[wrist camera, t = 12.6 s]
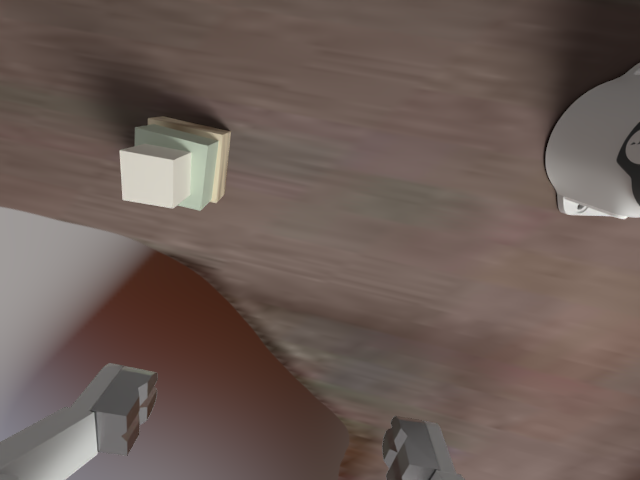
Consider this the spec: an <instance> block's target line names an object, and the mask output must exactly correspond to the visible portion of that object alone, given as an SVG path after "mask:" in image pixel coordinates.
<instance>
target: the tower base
mask: <svg viewBox="0 0 640 480" xmlns="http://www.w3.org/2000/svg"><path fill="white" fill-rule="evenodd" d="M151 124H156V125H159V126H163V127H167V128H171V129H175V130H179V131H183V132H187V133H190V134H194V135H198V136H202V137H206V138H210V139H214V140H217V141H219V144H218V152H217V160H216V168H215V176H214V184H213V191H212V199H211V201H210V202H214V203H217V202H218V201H219V200H220V198H221V197H222V196H223V195H224V193H225V183H226V174H227V164H228V154H229V145H230V135H231V132H230V131H226V130H222V129H217V128H213V127H208V126H204V125H200V124H195V123H191V122H186V121H182V120H177V119H173V118H169V117H164V116H161V117H153V118H148V125H151Z"/></svg>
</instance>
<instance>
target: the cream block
mask: <svg viewBox="0 0 640 480" xmlns="http://www.w3.org/2000/svg"><path fill="white" fill-rule="evenodd" d="M120 165H121V181H122V197H123V200H126V201H132V202H138V203H144V204H150V205H156V206H162V207H168V208H174V207H176V206H177V205H178V204H179V203H181V202H182V201H183V200H184V199H186V198H187V197H188V196H190V187H191V152H188V151H183V150H177V149H172V148H167V147H161V146H156V145H150V144H141V145H137V146H134V147H130V148H126V149H122V150H120Z"/></svg>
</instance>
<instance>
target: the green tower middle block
mask: <svg viewBox="0 0 640 480" xmlns="http://www.w3.org/2000/svg"><path fill="white" fill-rule="evenodd" d="M141 144H150V145H156V146H161V147H167V148H172V149H177V150H183V151H188V152H191V187H190V196H188V197H187V198H186V199H184V200H183V201H182V202H181V203H179V204H178V206H183V207H187V208H191V209H196V210H200V211H201V210H202V209H203V208H204V207H205V206H206V205H207V204H208V203H209V202H210V201H211V199H212V191H213V184H214V176H215V168H216V160H217V152H218V144H219V141H217V140H214V139H210V138H206V137H202V136H198V135H194V134H190V133H187V132H183V131H179V130H175V129H171V128H167V127H163V126H159V125H156V124H151V125H146V126H140V127H135V146H137V145H141Z"/></svg>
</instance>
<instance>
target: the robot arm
mask: <svg viewBox="0 0 640 480" xmlns="http://www.w3.org/2000/svg"><path fill="white" fill-rule="evenodd" d="M545 164H546V171H547V174H548V177H549V179H550V181H551V183H552V185H553V186H554V188H555V189H556V192H557V200H558V208H559V210H560V212H562V213H565V214H568V215H589V216H614V217H617V218H621V219H625V218H627V217H640V63H638V64H637V65H635V66H634V67H633V68H632V69H630V70H629V71H628V72H627V73H625V74H624V75H623V76H621V77H619V78H616V79H614V80H611V81H608V82H606V83H603V84H601V85H599V86H597V87H595V88H593V89H591V90H589V91H588V92H586V93H585V94H583V95H582V96H581V97H580V98H578V99H577V100H576V101H575V102H574V103H573V104H572V105H571V106H570V107H569V108H568V109H567V110H566V111H565V113H564V114H563V115H562V116H561V118H560V119H559V121H558V122H557V124H556V126H555V128H554V129H553V131H552V134H551V136H550V139H549V142H548V145H547V149H546V158H545ZM579 204H580V205H579ZM578 205H579V207H578ZM156 381H157V373H155V372H151V371H146V370H141V369H136V368H132V367H127V366H122V365H117V364H112V363H109V364H107V365H106V366H104V367H103V368H102V370H101V371H100V372H99V373H98V374H97V376H96V377H95V378H94V379H93V381H92V382H91V383H90V384H89V385H88V387H87V388H86V389H85V390H84V392H83V393H82V394H81V395H80V396H79V398H78V399H77V400H76V401H75V403H74V404H73V405H72V406H71V407H70V408H68V407H64V408H62V409H61V410H59V411H57V412H55V413H53V414H51V415H50V416H48V417H46V418H44V419H42V420H40V421H38V422H37V423H35V424H33V425H31V426H29V427H27V428H25V429H24V430H22V431H20V432H18V433H16V434H14V435H13V436H11V437H9V438H7V439H5V440H3V441H1V442H0V480H65V479H67V478H68V477H69V476H70V475H72V474H73V473H74V472H75V471H77V470H78V469H79V468H80V467H82V466H83V465H84V464H86V463H87V462H88V461H89V460H91V458H93V457H94V456H96V455H97V454H98V452H103V453H110V454H118V455H125V456H128V454H129V452H130V450H131V448H132V447H133V445H134V443H135V441H136V439H137V438H138V436H139V427H140V425H141V424H142V423H144V422H145V421H147V419H148V417H149V415H150V413H151V412H152V409H153V407H154V404H155V401H156V396H157V389H156V388H155V386H154V385H155V383H156ZM391 427H392V428H390V429H388V430H387V431H386V433H385V435H384V438H383V445H382V451H383V459H384V462H385V463H386V465H387V466H388V468H389V470H388V472H387V474H386V478H387V480H465V479H464V478H463V477H462V476H461V474H456V471H455V468H454V466H453V463H452V460H451V457H450V454H449V451H448V449H447V446H446V443H445V440H444V437H443V434H442V431H441V429H440V426H439V425H438V424H437V423H433V422H427V421H422V420H418V419H412V418H406V417H400V416H395V417H393V419H392V421H391Z"/></svg>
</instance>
